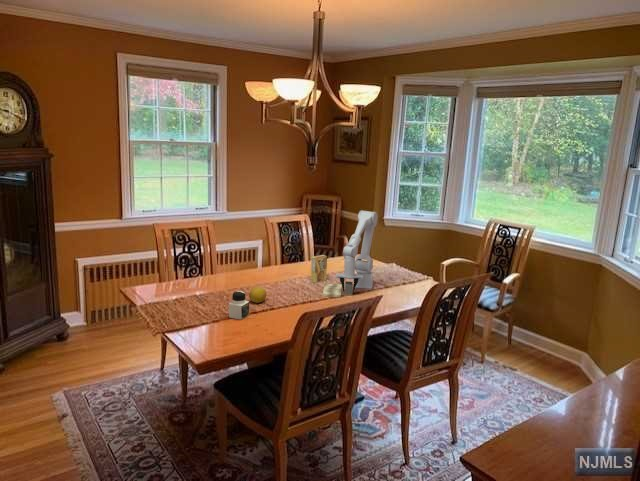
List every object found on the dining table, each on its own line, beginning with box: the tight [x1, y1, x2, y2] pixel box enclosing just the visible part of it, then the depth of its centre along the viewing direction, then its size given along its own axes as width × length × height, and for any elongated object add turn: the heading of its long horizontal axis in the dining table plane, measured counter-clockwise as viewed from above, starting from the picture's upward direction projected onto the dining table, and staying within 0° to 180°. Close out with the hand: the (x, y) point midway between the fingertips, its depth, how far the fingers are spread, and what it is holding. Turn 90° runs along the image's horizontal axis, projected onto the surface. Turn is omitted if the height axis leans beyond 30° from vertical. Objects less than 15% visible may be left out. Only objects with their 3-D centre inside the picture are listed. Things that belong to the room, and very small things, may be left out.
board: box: [322, 283, 343, 298], centre depth 272 cm, size 10×19×1 cm, turn 176°
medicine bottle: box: [228, 290, 250, 321], centre depth 231 cm, size 7×7×12 cm
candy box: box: [310, 254, 328, 284], centre depth 289 cm, size 9×4×15 cm, turn 129°
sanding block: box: [344, 280, 354, 297], centre depth 268 cm, size 4×7×6 cm, turn 176°
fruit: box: [248, 286, 267, 304], centre depth 251 cm, size 9×8×8 cm
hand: (348, 291), depth 269 cm, fingers open, 5 cm apart
